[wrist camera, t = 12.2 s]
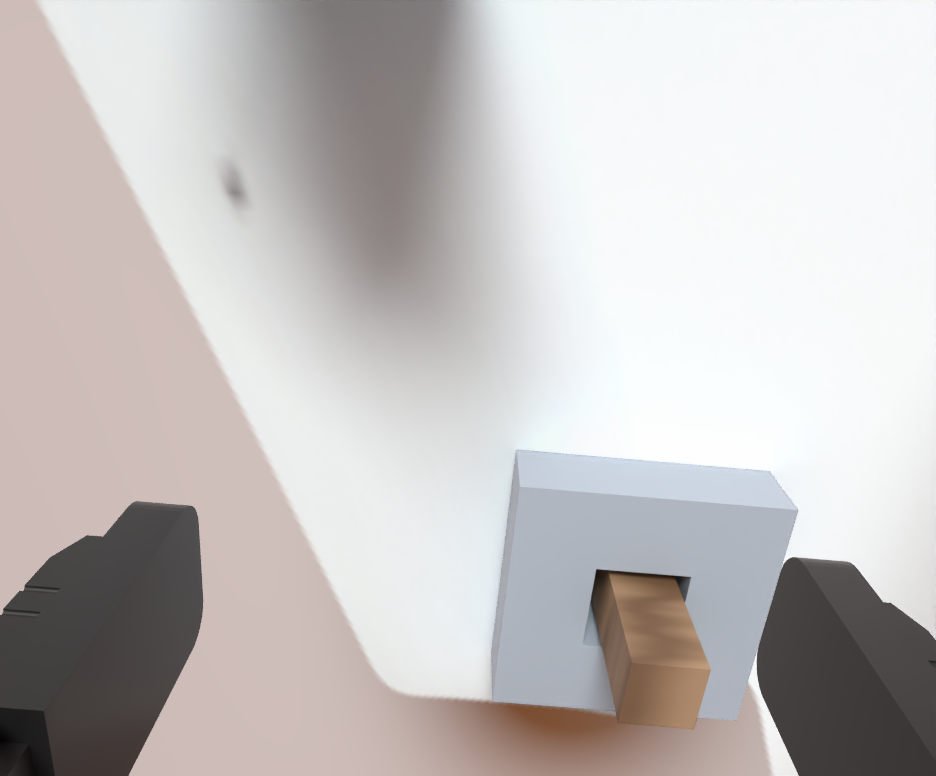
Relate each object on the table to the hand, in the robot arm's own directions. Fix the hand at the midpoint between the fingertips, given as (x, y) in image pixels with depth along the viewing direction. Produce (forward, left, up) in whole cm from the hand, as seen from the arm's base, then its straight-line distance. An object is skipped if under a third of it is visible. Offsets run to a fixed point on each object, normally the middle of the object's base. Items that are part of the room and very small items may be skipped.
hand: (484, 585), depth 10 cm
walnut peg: (-10, +19, -28) cm, 35 cm away
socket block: (-10, +19, -28) cm, 35 cm away
